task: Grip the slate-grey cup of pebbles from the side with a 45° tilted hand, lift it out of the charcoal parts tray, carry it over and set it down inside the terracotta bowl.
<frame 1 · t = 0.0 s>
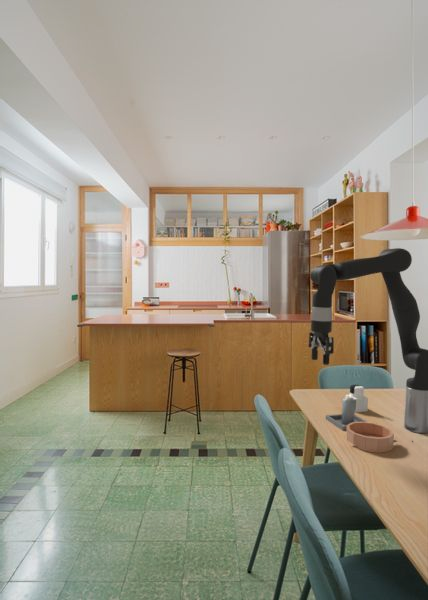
hand: (320, 362, 150), 29 cm above the table, tool pointing down, fingers open, 8 cm apart
bowl: (368, 442, 149), on the table
pebble cup: (347, 423, 166), point 1 cm above the table, touching parts tray
parts tray: (347, 425, 166), on the table
medicine bottle: (355, 411, 184), on the table
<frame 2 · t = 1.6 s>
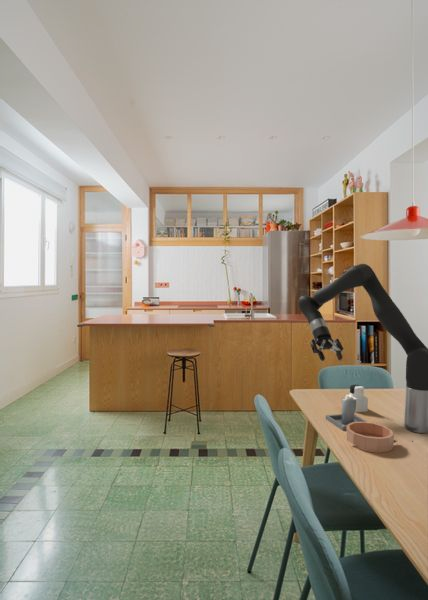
hand: (332, 359, 177), 25 cm above the table, tool tilted 45°, fingers open, 8 cm apart
nothing on the table moved.
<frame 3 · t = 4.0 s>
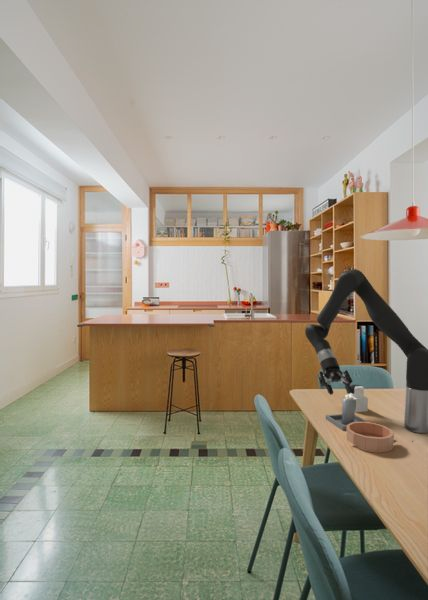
hand: (340, 393, 171), 12 cm above the table, tool tilted 45°, fingers open, 8 cm apart
nothing on the table moved.
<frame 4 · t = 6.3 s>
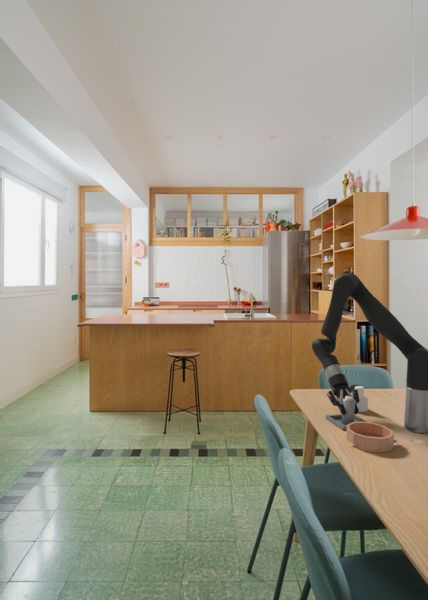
hand: (350, 413, 164), 6 cm above the table, tool tilted 45°, fingers closed on pebble cup, 5 cm apart
pebble cup: (347, 423, 166), point 1 cm above the table, touching gripper, parts tray
everything else where it was.
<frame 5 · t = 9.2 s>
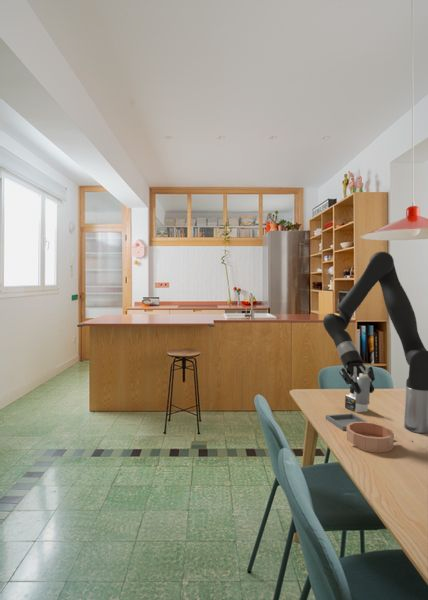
hand: (365, 392, 152), 18 cm above the table, tool tilted 45°, fingers closed on pebble cup, 5 cm apart
pebble cup: (362, 402, 154), point 13 cm above the table, touching gripper
everything else where it was.
when the fingers open (7 cm above the table, at t = 12.4 s): pebble cup stays where it is, resting on bowl.
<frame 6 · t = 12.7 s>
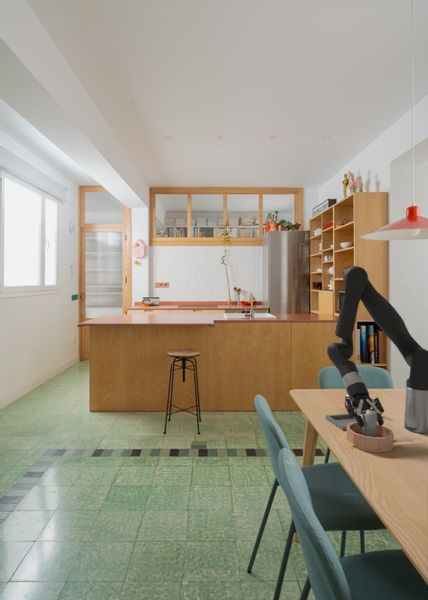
hand: (372, 425, 147), 7 cm above the table, tool tilted 45°, fingers open, 7 cm apart
pebble cup: (368, 439, 149), point 1 cm above the table, touching bowl
everything else where it was.
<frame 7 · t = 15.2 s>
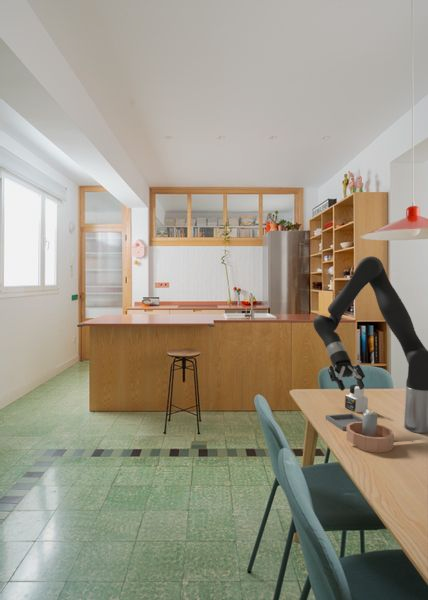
hand: (352, 389, 159), 17 cm above the table, tool tilted 45°, fingers open, 8 cm apart
nothing on the table moved.
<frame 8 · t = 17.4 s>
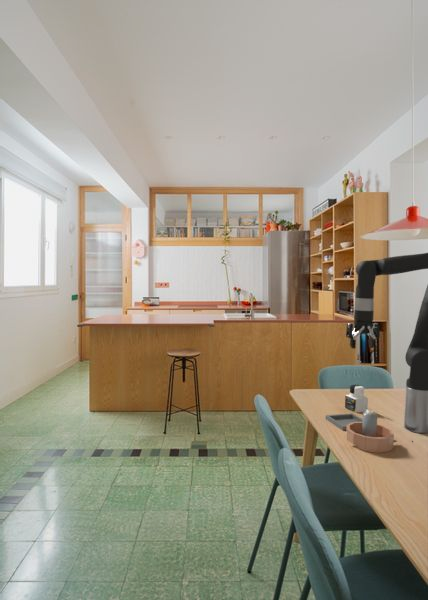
hand: (362, 348, 166), 32 cm above the table, tool pointing down, fingers open, 8 cm apart
nothing on the table moved.
at the end: pebble cup inside the target area on the bowl (0.1 cm from its centre), point 1.0 cm above the bowl's base; pebble cup tilted 0°; the gripper is holding nothing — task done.
